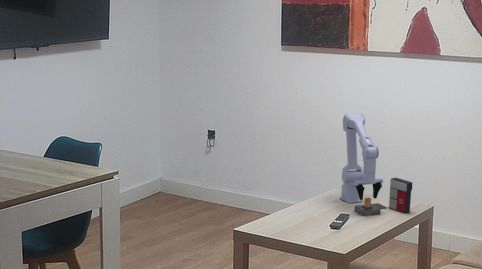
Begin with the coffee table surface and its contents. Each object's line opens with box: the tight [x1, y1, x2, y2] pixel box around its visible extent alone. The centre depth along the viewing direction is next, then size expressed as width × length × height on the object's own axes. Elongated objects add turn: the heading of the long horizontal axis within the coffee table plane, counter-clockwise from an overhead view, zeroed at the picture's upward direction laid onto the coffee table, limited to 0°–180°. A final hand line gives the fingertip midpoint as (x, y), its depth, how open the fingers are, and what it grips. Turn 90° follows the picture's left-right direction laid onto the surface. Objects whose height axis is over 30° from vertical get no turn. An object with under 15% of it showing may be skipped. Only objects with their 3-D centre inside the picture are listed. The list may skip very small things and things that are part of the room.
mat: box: [371, 202, 388, 210], centre depth 381 cm, size 8×8×1 cm
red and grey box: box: [388, 177, 413, 214], centre depth 375 cm, size 11×4×15 cm, turn 37°
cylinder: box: [363, 197, 372, 209], centre depth 371 cm, size 3×3×7 cm
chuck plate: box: [354, 204, 382, 217], centre depth 372 cm, size 9×9×2 cm
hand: (367, 198), depth 371 cm, fingers open, 7 cm apart
